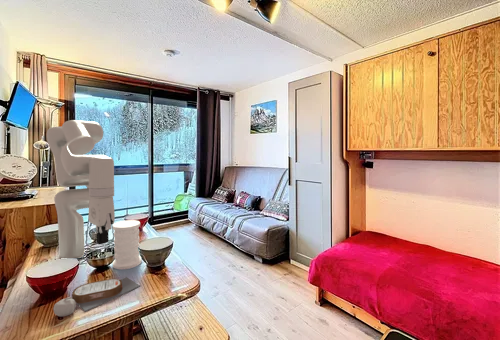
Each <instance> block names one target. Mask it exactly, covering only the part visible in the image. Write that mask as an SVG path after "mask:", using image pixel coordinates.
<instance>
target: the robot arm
mask: <svg viewBox="0 0 500 340" xmlns="http://www.w3.org/2000/svg"><path fill="white" fill-rule="evenodd" d="M103 137H104V129H103V127H102V125H100V123H98V122H96V121H88V120H78V119H77V120H76V119H71V120H70V119H69V120H67V121H64V122H63V123H62V126H52V127H50V128H48V129H47V131H46V140H47V144H48V148H49V149H50V151H51V153H52V155H53V158H54V168H55V178H56V183H57V184H58V185H59V186H60V187H64V188H68V187H70V188H71V187H80V186H81V187H82V186H83V187H84V186H85V187H86V188H74V189H64V190H61V191H58V192H57V193H55V196H54V199H53V200H54V206H55V209H56V214H57V230H58V231H57V232H58V233H57V234H58V250H59V251H58V252H59V253H58V254H57V255H56V256H55V258H54V259H61V258H81V257H83V255H84V252H85V249H86V248H85V227H84V226H85V224H84V223H85V220H84V216H83V215H82V214H80V213H79V212H78V210H83V209H84V210H85V209H88V222H89V223H90V224H93V225H94V226H95V231H96V243H97V244H98V245H103V244H107V243H109V233H110V230H112V225H113V224H115V217H116V215H115V204H114V203H115V202H114V197H115V160H114V159H113V158H112V157H109V156H107V155H106V154H89V153H90V152H91V151H92V150H93V149H94V148H95V145H96V144H98V143H99V142H100V141H101V140H102V139H103Z"/></svg>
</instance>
